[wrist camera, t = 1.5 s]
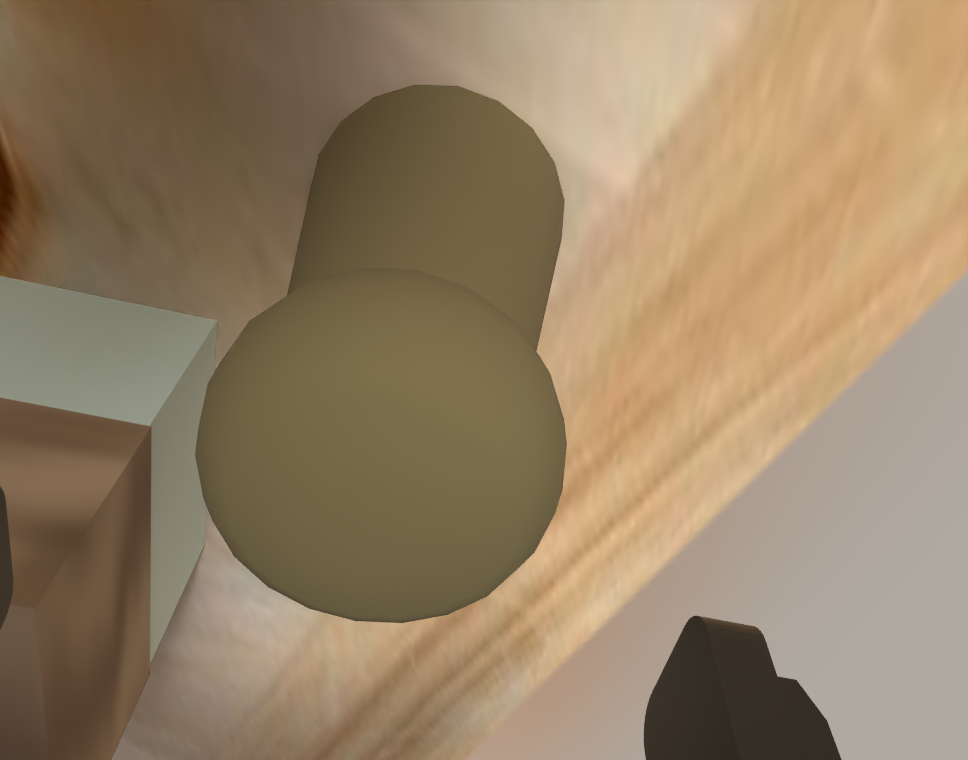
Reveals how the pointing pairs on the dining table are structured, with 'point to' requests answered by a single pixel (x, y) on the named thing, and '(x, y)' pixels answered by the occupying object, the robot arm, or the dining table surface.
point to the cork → (399, 370)
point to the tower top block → (73, 581)
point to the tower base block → (122, 400)
